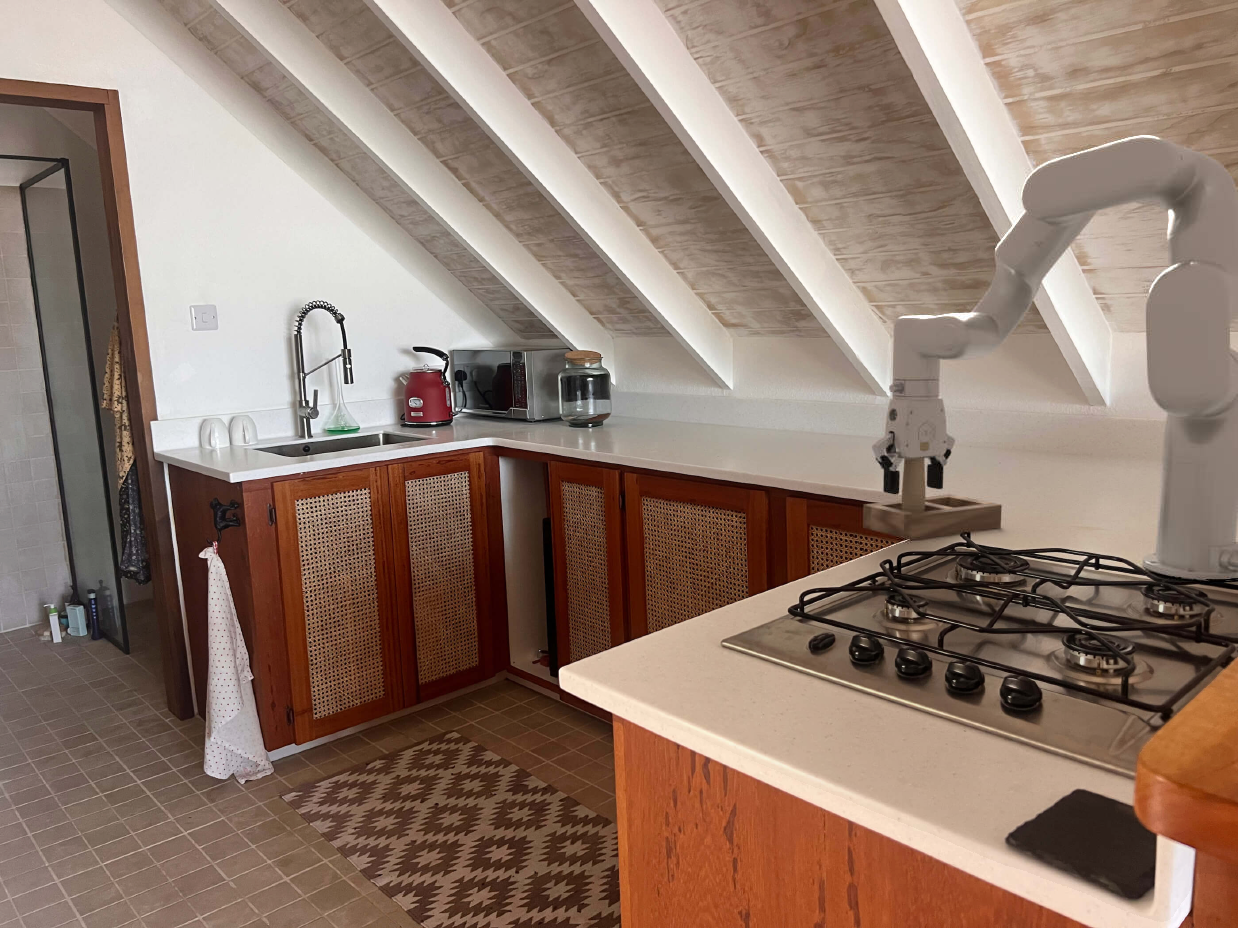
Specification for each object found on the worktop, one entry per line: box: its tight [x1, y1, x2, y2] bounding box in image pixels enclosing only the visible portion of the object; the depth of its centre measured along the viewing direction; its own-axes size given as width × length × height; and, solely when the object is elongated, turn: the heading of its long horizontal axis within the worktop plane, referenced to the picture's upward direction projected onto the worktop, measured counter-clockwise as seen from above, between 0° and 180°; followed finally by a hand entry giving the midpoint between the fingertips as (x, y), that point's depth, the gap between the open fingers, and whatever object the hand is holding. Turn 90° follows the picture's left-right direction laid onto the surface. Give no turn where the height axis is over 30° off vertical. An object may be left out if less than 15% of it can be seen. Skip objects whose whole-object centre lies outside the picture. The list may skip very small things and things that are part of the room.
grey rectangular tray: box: [862, 493, 1002, 541], centre depth 166 cm, size 12×20×4 cm, turn 116°
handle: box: [901, 442, 929, 513], centre depth 163 cm, size 5×6×15 cm
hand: (913, 490), depth 163 cm, fingers open, 9 cm apart
